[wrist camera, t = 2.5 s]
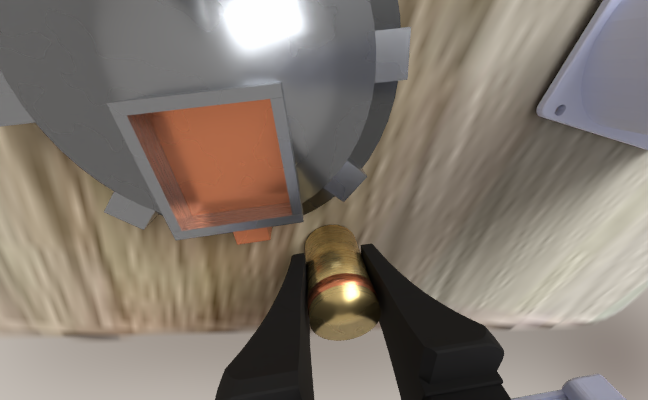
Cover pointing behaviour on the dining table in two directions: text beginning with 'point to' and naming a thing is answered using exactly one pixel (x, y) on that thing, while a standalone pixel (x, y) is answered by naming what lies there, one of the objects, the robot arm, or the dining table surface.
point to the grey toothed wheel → (201, 101)
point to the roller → (338, 285)
